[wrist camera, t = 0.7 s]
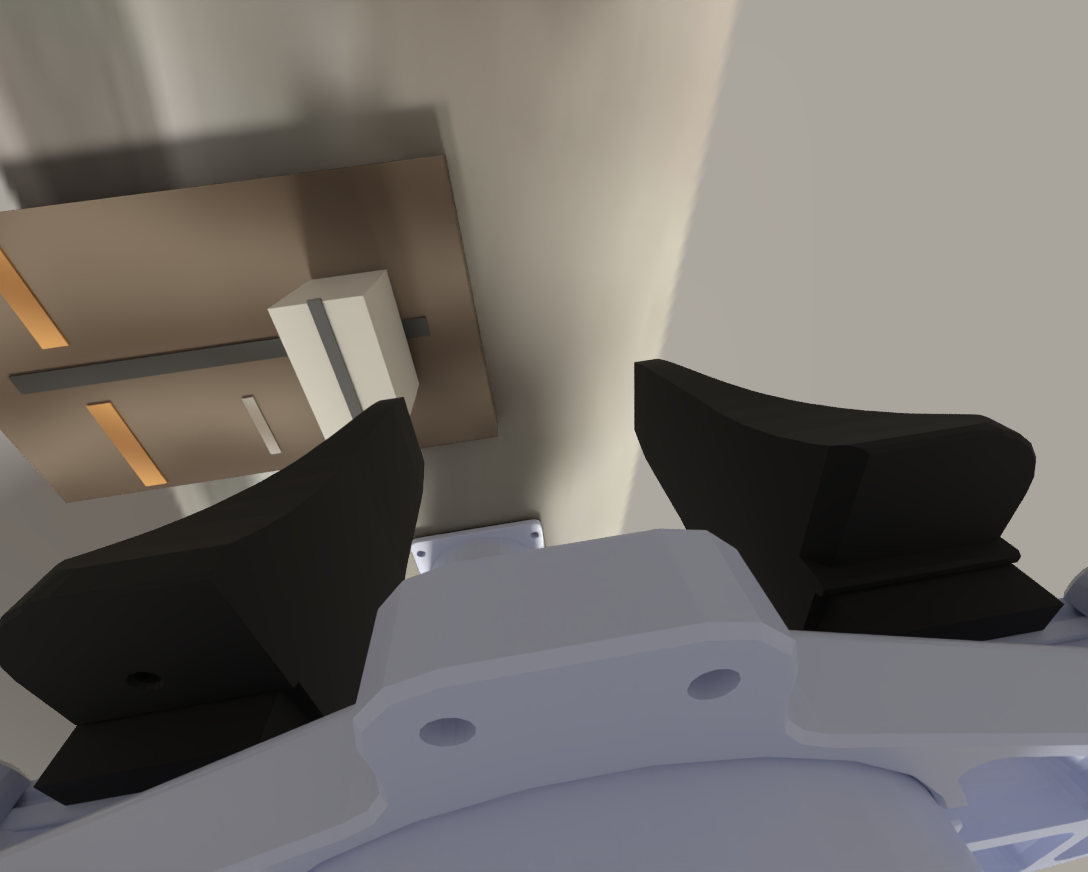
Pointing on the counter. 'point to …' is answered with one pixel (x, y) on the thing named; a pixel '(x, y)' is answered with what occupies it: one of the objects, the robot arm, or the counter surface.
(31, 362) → the fader console
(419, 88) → the counter surface
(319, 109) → the counter surface
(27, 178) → the counter surface
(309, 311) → the fader knob
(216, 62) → the counter surface
